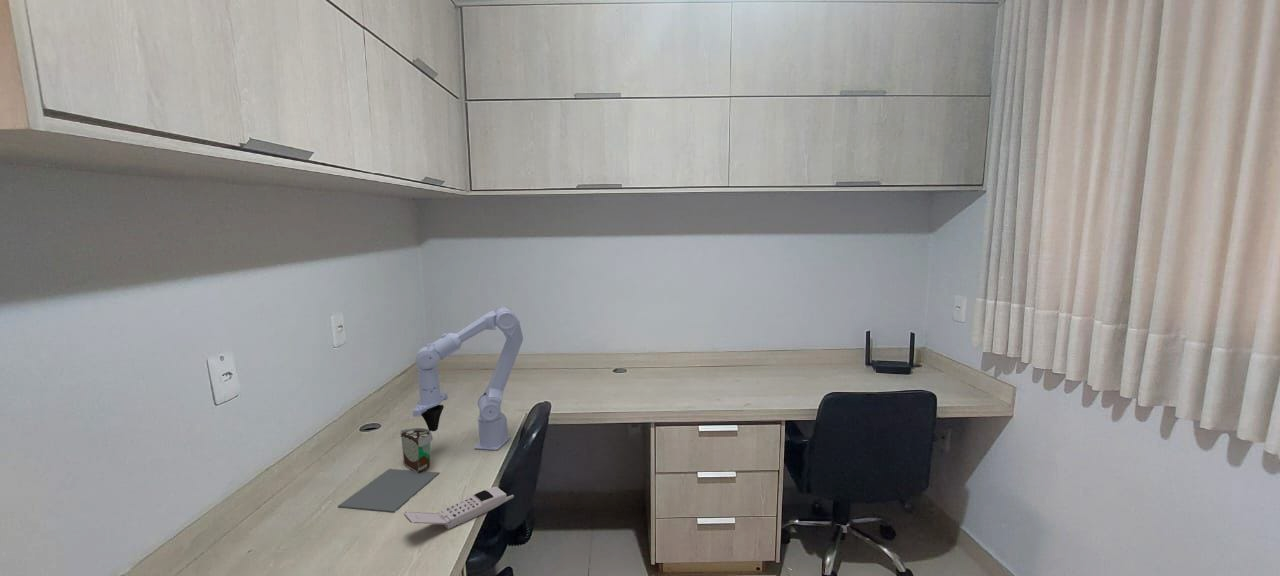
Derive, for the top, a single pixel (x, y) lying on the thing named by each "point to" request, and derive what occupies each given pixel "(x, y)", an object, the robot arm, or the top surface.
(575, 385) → the top surface
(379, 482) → the charcoal mat
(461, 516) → the mobile phone
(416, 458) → the food container
